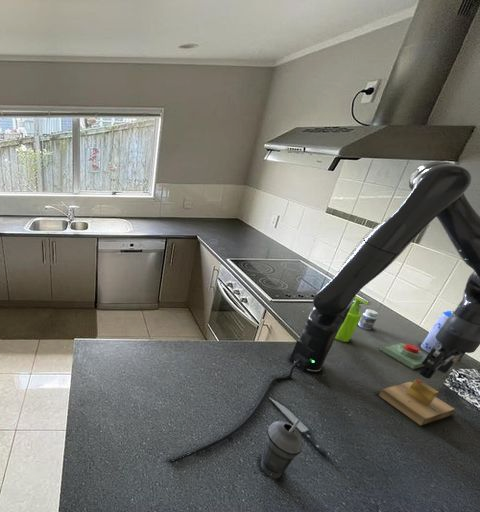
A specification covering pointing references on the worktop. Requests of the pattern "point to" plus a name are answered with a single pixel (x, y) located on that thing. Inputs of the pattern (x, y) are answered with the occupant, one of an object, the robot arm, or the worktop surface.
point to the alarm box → (406, 355)
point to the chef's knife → (298, 425)
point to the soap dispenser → (350, 321)
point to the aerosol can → (435, 332)
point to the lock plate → (415, 405)
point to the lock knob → (422, 392)
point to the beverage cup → (280, 447)
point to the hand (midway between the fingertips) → (432, 373)
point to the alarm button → (411, 348)
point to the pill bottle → (368, 319)
